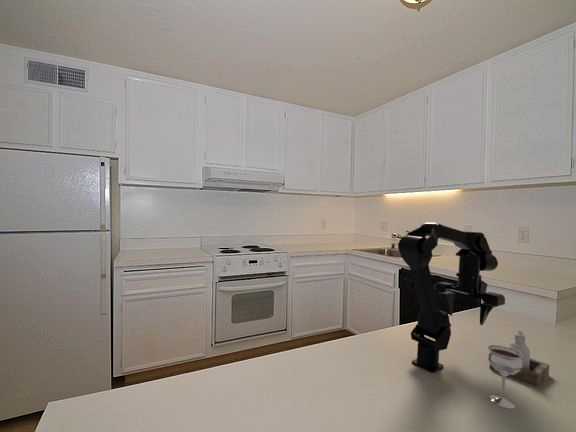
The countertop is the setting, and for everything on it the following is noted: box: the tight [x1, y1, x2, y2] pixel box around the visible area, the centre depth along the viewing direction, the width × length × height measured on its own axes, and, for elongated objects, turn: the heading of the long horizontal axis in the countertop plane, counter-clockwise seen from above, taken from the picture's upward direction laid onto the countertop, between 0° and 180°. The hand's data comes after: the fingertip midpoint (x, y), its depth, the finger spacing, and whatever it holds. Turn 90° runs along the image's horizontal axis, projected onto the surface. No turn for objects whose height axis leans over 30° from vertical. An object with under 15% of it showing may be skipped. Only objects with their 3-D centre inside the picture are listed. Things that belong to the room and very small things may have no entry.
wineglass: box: [487, 344, 523, 409], centre depth 70 cm, size 7×7×12 cm
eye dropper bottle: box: [509, 329, 531, 370], centre depth 85 cm, size 4×6×12 cm
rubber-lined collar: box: [489, 358, 550, 387], centre depth 85 cm, size 11×11×3 cm
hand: (465, 319), depth 93 cm, fingers open, 9 cm apart
